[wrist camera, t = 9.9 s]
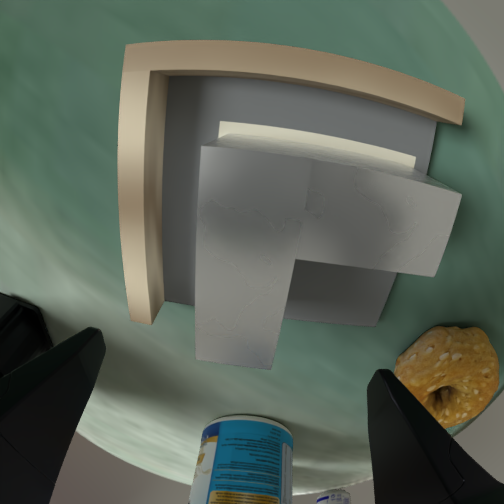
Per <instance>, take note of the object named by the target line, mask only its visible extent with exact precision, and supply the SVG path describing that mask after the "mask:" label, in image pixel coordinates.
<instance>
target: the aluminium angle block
mask: <svg viewBox="0 0 504 504" xmlns="http://www.w3.org/2000/svg"><path fill="white" fill-rule="evenodd" d="M461 197H462V194H460V193H459V192H457V191H455V190H453V189H452V188H450V187H448V186H446V185H444V184H443V183H441V182H439V181H437V180H435V179H433V178H431V177H429V176H427V175H425V174H424V173H422V172H420V171H418V170H416V169H414V168H411V167H409V166H407V165H405V164H402V163H399V162H395V161H391V160H387V159H383V158H378V157H374V156H370V155H365V154H361V153H356V152H352V151H347V150H342V149H337V148H331V147H326V146H320V145H315V144H309V143H303V142H296V141H290V140H283V139H275V138H268V137H259V136H251V135H241V134H231V133H228V134H226V135H224V136H222V137H219V138H217V139H215V140H213V141H211V142H208V143H206V144H204V145H202V146H201V157H200V171H199V188H198V207H197V231H196V267H195V351H196V359H197V360H203V361H209V362H215V363H222V364H228V365H235V366H243V367H250V368H259V369H267V370H271V367H272V363H273V359H274V355H275V350H276V346H277V342H278V337H279V333H280V329H281V324H282V320H283V315H284V311H285V306H286V301H287V297H288V292H289V287H290V282H291V277H292V273H293V268H294V263H295V259H300V260H307V261H315V262H323V263H330V264H338V265H345V266H353V267H361V268H368V269H376V270H384V271H391V272H399V273H407V274H414V275H422V276H430V277H435V274H436V272H437V269H438V267H439V264H440V261H441V259H442V256H443V253H444V251H445V248H446V245H447V242H448V239H449V236H450V233H451V230H452V227H453V224H454V221H455V218H456V214H457V211H458V207H459V204H460V200H461Z"/></svg>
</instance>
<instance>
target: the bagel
mask: <svg viewBox="0 0 504 504" xmlns="http://www.w3.org/2000/svg"><path fill="white" fill-rule="evenodd" d="M394 375H395V376H396V377H397V378H398V379H399V380H400V381H401V382H402V383H403V384H404V385H405V386H406V388H407V389H408V390H409V391H410V392H411V393H412V394H413V395H414V396H415V397H416V398H417V399H418V400H419V402H420V403H421V404H422V405H423V406H424V407H425V408H426V409H427V410H428V411H429V412H430V414H431V415H432V416H433V417H434V418H435V419H436V420H437V421H438V422H439V423H440V424H441V426H442V427H443V428H444V429H445V428H449V427H452V426H455V425H458V424H460V423H463V422H465V421H467V420H469V419H471V418H472V417H475V416H476V415H478V414H479V413H480V412H481V411H483V410H484V408H485V406H486V405H487V404H488V403H489V401H490V400H491V399H492V397H493V395H494V393H495V392H496V391H497V390H498V385H499V363H498V357H497V354H496V352H495V350H494V348H493V347H492V345H491V344H490V342H489V338H488V336H487V335H486V334H485V332H484V331H482V330H481V329H480V328H478V327H470V328H464V329H460V328H458V327H456V326H455V327H447V328H446V327H442V326H436V327H433V328H431V329H430V330H428V331H426V332H424V334H422V335H421V336H420V337H419V338H418V339H417V340H416V341H415V342H414V343H413V344H412V345H411V346H410V347H409V348H408V349H407V350H406V351H405V352H404V353H402V354H401V355H399V357H398V358H397V360H396V366H395V370H394Z"/></svg>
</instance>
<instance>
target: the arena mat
mask: <svg viewBox="0 0 504 504" xmlns="http://www.w3.org/2000/svg"><path fill="white" fill-rule="evenodd" d="M436 124H437V121H434V120H431V119H429V118H426V117H423V116H420V115H417V114H414V113H411V112H408V111H405V110H402V109H399V108H396V107H392V106H389V105H386V104H382V103H378V102H375V101H371V100H367V99H363V98H359V97H355V96H351V95H347V94H343V93H338V92H333V91H328V90H323V89H318V88H313V87H307V86H301V85H295V84H288V83H281V82H273V81H265V80H256V79H245V78H232V77H215V76H169V84H168V94H167V105H166V117H165V132H164V149H163V174H162V257H163V282H164V300H165V301H169V302H175V303H180V304H186V305H192V306H195V267H196V231H197V207H198V188H199V171H200V157H201V146H202V145H204V144H206V143H208V142H211V141H213V140H215V139H217V138H219V137H222V136H224V135H226V134H228V133H231V134H241V135H251V136H259V137H268V138H275V139H283V140H290V141H296V142H303V143H309V144H315V145H320V146H326V147H331V148H337V149H342V150H347V151H352V152H356V153H361V154H365V155H370V156H374V157H378V158H383V159H387V160H391V161H395V162H399V163H402V164H405V165H407V166H409V167H411V168H414V169H416V170H418V171H420V172H422V173H424V174H425V175H426V174H427V170H428V166H429V161H430V156H431V151H432V146H433V141H434V135H435V130H436ZM396 275H397V272H391V271H384V270H376V269H368V268H361V267H353V266H345V265H338V264H330V263H323V262H315V261H307V260H300V259H295V263H294V268H293V273H292V277H291V282H290V287H289V292H288V297H287V301H286V306H285V311H284V315H283V318H284V319H293V320H302V321H311V322H321V323H332V324H343V325H355V326H368V327H376V324H377V322H378V320H379V317H380V315H381V313H382V310H383V308H384V305H385V303H386V301H387V298H388V296H389V293H390V290H391V288H392V285H393V283H394V280H395V277H396Z"/></svg>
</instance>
